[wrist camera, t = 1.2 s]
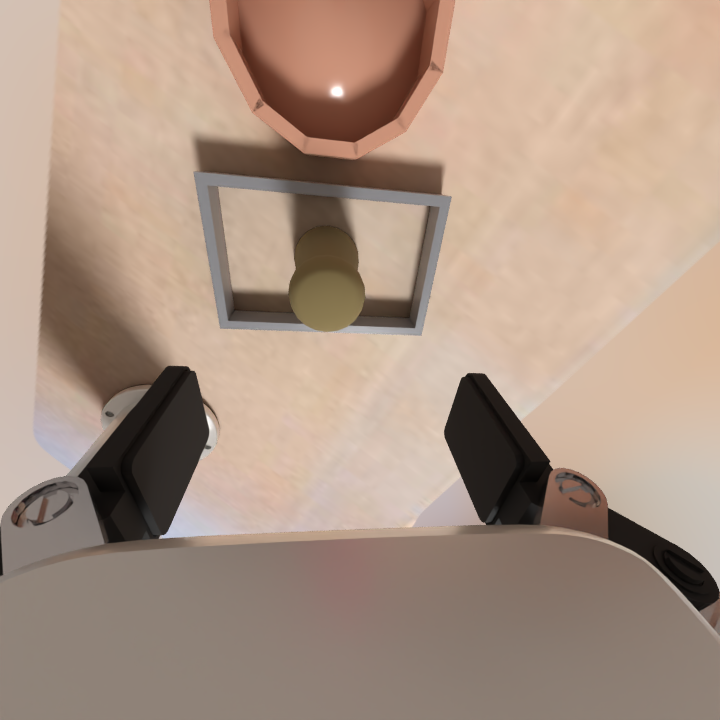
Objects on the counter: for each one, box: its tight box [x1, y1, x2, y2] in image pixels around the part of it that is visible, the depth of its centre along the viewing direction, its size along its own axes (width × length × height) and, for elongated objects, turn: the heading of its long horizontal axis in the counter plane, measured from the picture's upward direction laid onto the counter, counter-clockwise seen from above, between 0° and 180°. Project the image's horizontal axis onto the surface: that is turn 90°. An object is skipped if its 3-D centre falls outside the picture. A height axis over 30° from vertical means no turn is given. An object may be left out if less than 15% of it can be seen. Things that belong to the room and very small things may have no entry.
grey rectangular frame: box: [194, 171, 451, 336], centre depth 28 cm, size 13×20×2 cm, turn 85°
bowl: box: [209, 0, 455, 160], centre depth 19 cm, size 14×14×4 cm
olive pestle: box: [288, 226, 365, 332], centre depth 24 cm, size 6×6×11 cm
